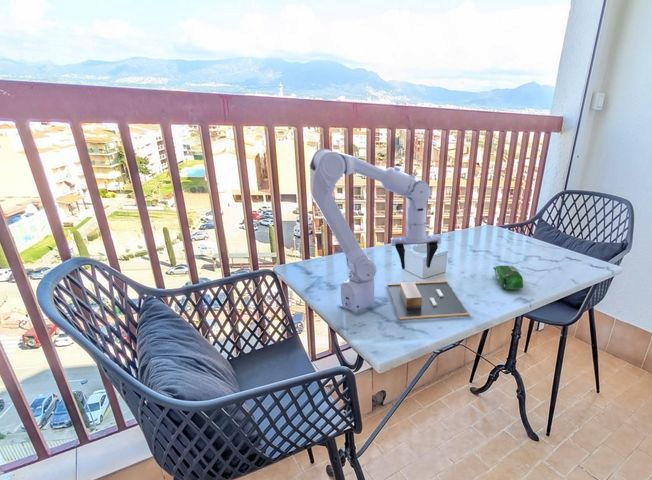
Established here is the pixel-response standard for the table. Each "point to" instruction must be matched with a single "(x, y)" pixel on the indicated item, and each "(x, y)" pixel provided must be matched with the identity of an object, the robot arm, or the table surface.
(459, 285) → the table surface
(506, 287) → the snack package
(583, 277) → the table surface
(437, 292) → the white chalk stick
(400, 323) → the table surface
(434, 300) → the white rectangular bar
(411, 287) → the eraser
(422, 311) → the slate board
